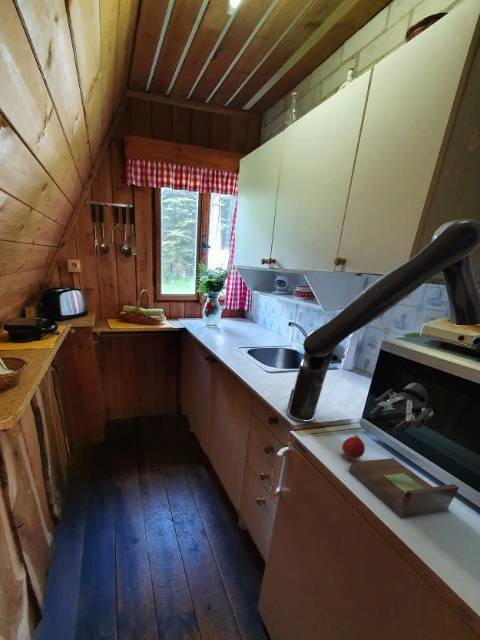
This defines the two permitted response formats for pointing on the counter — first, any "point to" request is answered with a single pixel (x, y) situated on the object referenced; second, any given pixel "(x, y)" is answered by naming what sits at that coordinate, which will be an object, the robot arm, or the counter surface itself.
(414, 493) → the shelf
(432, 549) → the counter surface
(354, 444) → the red pomegranate
